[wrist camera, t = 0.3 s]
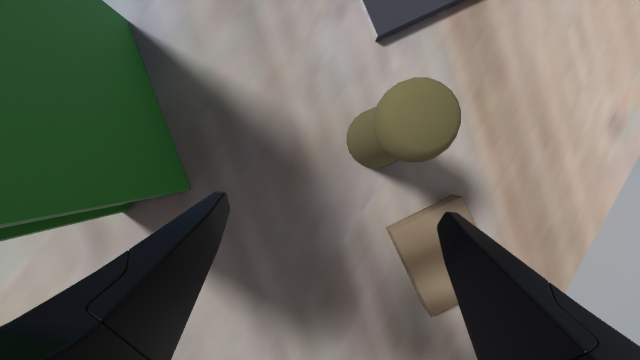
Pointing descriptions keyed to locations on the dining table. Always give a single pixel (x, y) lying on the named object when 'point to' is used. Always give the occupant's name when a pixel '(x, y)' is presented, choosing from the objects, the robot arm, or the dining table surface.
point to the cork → (406, 124)
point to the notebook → (400, 13)
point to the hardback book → (76, 118)
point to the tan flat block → (428, 253)
